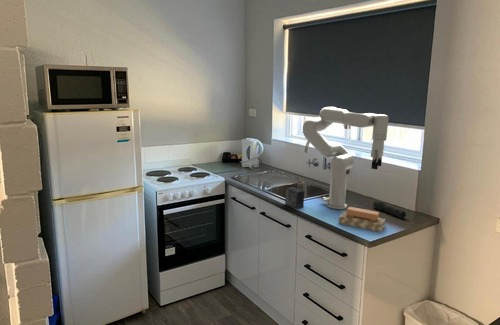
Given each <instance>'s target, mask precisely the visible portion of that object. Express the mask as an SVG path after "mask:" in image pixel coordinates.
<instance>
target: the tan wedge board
mask: <svg viewBox="0 0 500 325" xmlns="http://www.w3.org/2000/svg"><path fill="white" fill-rule="evenodd" d="M346 214H347V215H348V217H351V218H355V217H356V216H357V217H362V218H367V219H369V221H371V222H376V220H377V219H378V218H380V211H375V210H369V209H364V208H360V207H359V208H358V207H354V206H347V208H346Z"/></svg>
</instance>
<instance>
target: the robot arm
mask: <svg viewBox="0 0 500 325" xmlns="http://www.w3.org/2000/svg"><path fill="white" fill-rule="evenodd" d="M333 123H334V124H335V123H336V124H341V125H346V126H348V127H355V128H368V127H372V134H371V135H372V136H371V140H372V145H371V151H370V158H372V160H371V167H370V168H371V169H372V170H378V168H379V167H382V161H383V155H384V150H385V149H384V147H385V142H386V141H387V136H388V129H389V128H388V127H389V115H386V114H377V113H373V112H372V113H371V112H368V113H367V112H366V113H357V112H351V111H348V110H347V109H343V108H337V107H336V106H326V107H323V108H321V110H320V111H319V116H318V117H313V118H308V119H307V120H305V121H304V123H303V126H302V133H303V136H304V138H305V140H306V141H308V142H309V143H310V145H312V146H313V147H314V148H315V149H316V151H317V152H318V153H319V154H320V155H321V156H322V157H323V158H325V159H331V160H330V166H329V167H330V181H329V182H330V183H329V194H328V195H329V196H328V197H327V196H326V197H324V196H323V197H322V201H323V202H326V203H325V206H326V207H328V208H330V209H334V210H346V209H347V208H348V204H347V203H346V196H347V195H346V193H347V192H346V191H347V181H348V176H347V175H348V174H347V170H349V169H351V168H353V167H354V165H355V158H354V157H353V155H352V154H351V153H350V152H349V151H348V150H347V149H346V148H345V147H344V146H343V145H342V144H341V143H339V142H338V141H337V142H336V141H331V142H330V141H329V140H328V139H326V137H324V135H322V134H321V133H319V132H322V131H324V130H325V129H327V128H328V127H330V125H331V126H332V124H333Z"/></svg>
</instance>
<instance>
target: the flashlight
mask: <svg viewBox="0 0 500 325" xmlns="http://www.w3.org/2000/svg"><path fill="white" fill-rule="evenodd" d="M372 208H374V209H376V210H377V211H384V212H387V213H388V214H391V215H393V216H396V217H399V218H401V219H404V218H406V216H407V215H406V212H405V210H401V209H399V208H396V207H393V206H390V205H387V204H386V203H385V202H383V201H379V200H374V202H373V203H372Z"/></svg>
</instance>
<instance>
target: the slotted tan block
mask: <svg viewBox="0 0 500 325" xmlns="http://www.w3.org/2000/svg"><path fill="white" fill-rule="evenodd" d="M346 211H347V210H346ZM346 211H343V212H342V213H341V214H340V215H339V216H338V224H339V223H341V224H340V225H344V226H349V225H350V226H349V227H353V226H354V228H359V229H360V228H361V229H363V230H369V231H372V232H373V231H375V232H378V233H382V231H383V229H384V228H385V226H386V218H382V217H379V218H378V219H377V220H376V222H371V221H369V219H367V218H362V217H357V216H356V217H355V218H351V217H348V215H347V214H346Z"/></svg>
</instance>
